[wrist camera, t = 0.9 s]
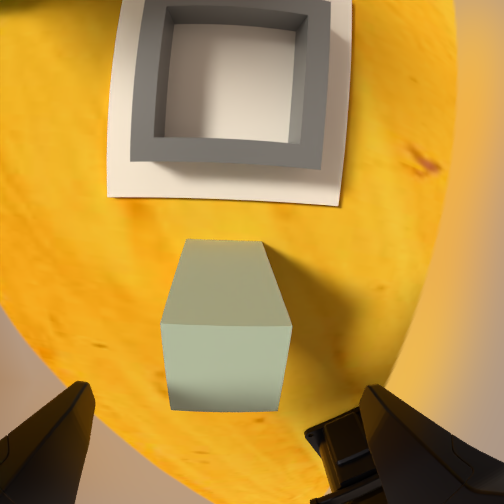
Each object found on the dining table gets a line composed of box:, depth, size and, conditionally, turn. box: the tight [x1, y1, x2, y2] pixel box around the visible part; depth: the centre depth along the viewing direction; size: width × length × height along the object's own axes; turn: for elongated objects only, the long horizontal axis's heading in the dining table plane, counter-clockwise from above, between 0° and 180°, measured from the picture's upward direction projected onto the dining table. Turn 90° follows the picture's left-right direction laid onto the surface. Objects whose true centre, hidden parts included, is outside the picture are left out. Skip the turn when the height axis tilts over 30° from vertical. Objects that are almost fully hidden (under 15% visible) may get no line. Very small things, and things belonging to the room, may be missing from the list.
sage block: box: [160, 239, 293, 412], centre depth 14 cm, size 4×4×8 cm
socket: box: [107, 0, 352, 206], centre depth 12 cm, size 12×12×3 cm
